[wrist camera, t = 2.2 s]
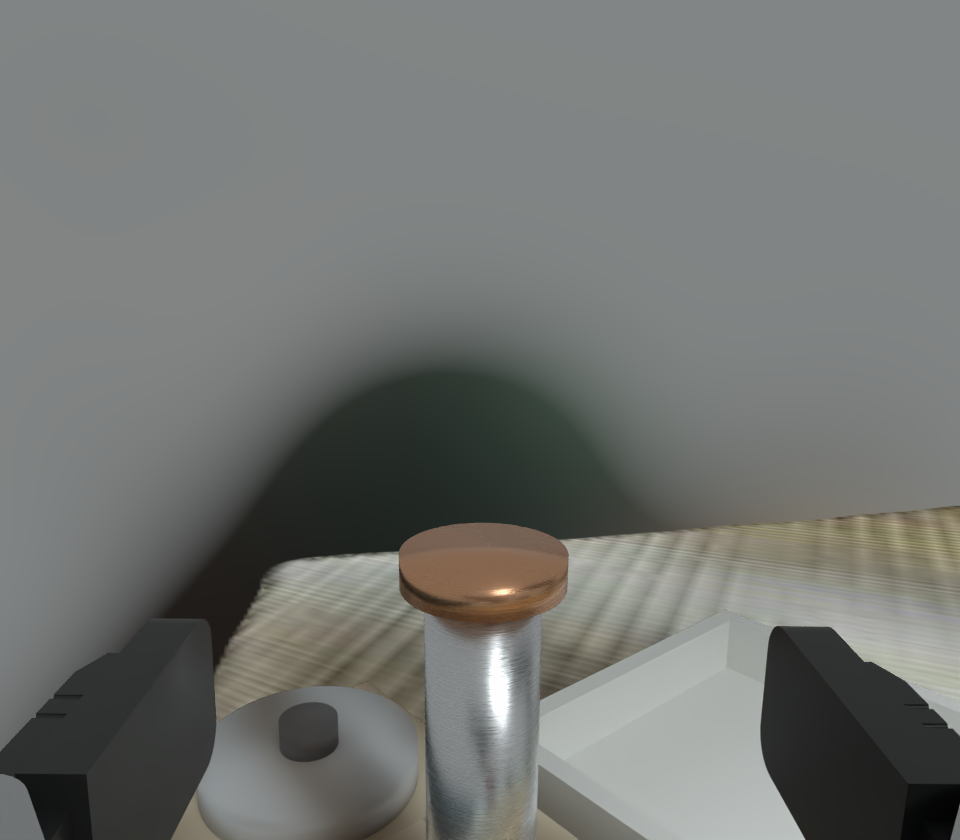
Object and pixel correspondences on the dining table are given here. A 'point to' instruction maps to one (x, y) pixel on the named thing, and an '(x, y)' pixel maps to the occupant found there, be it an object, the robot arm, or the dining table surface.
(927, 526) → the dining table surface
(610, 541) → the dining table surface
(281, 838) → the wooden peg base
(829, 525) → the dining table surface
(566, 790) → the tray
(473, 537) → the lock pin
